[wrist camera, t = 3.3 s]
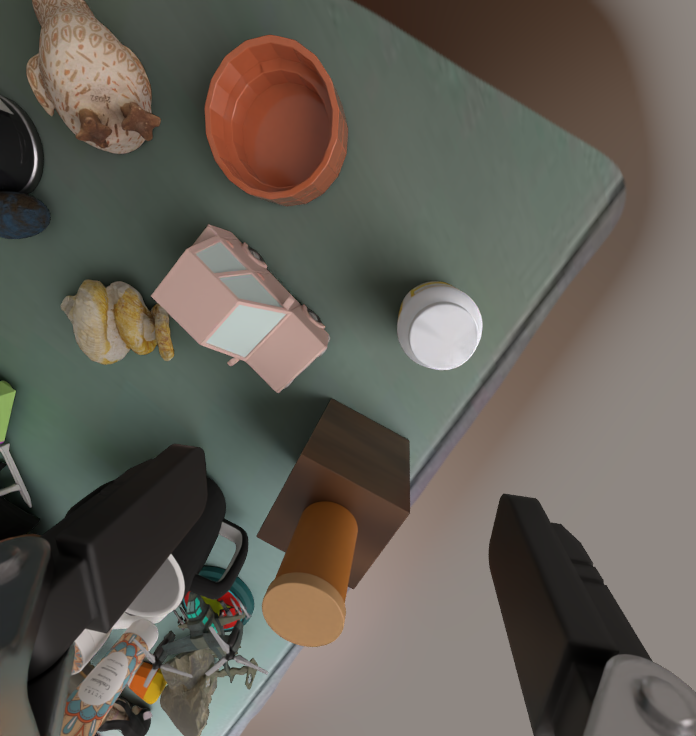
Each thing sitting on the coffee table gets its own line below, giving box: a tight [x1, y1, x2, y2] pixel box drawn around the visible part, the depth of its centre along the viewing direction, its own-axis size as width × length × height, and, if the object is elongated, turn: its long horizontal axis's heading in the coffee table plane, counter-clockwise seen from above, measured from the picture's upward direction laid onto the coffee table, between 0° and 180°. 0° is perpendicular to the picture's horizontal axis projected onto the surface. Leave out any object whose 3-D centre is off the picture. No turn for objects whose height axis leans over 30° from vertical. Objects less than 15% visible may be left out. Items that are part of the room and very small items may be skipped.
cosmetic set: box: [60, 619, 158, 736], centre depth 44 cm, size 25×9×19 cm, turn 76°
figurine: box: [26, 0, 161, 154], centre depth 31 cm, size 9×10×15 cm
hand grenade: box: [0, 191, 51, 239], centre depth 37 cm, size 4×4×10 cm
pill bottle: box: [397, 281, 482, 370], centre depth 30 cm, size 6×6×12 cm
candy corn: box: [127, 662, 167, 704], centre depth 59 cm, size 6×3×8 cm
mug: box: [65, 462, 248, 617], centre depth 41 cm, size 16×16×12 cm
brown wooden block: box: [257, 398, 410, 589], centre depth 36 cm, size 10×10×12 cm
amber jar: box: [262, 501, 358, 647], centre depth 26 cm, size 5×5×8 cm
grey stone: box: [160, 648, 219, 736], centre depth 53 cm, size 14×10×10 cm
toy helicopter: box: [133, 566, 268, 693], centre depth 49 cm, size 20×15×8 cm
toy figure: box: [98, 696, 152, 736], centre depth 61 cm, size 7×6×15 cm
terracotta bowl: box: [205, 35, 348, 206], centre depth 30 cm, size 11×11×5 cm
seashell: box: [61, 279, 174, 365], centre depth 38 cm, size 10×6×15 cm
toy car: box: [151, 224, 330, 393], centre depth 33 cm, size 9×15×10 cm, turn 44°
